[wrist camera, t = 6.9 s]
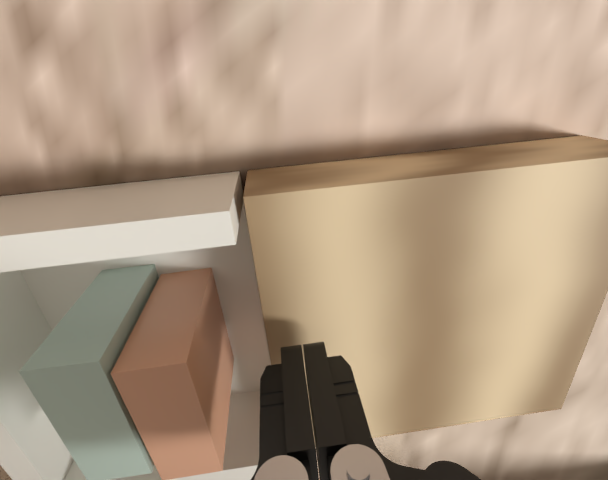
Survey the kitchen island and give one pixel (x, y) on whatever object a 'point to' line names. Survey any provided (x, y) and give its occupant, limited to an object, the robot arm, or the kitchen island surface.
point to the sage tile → (94, 375)
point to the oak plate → (438, 274)
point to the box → (110, 255)
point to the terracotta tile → (179, 375)
